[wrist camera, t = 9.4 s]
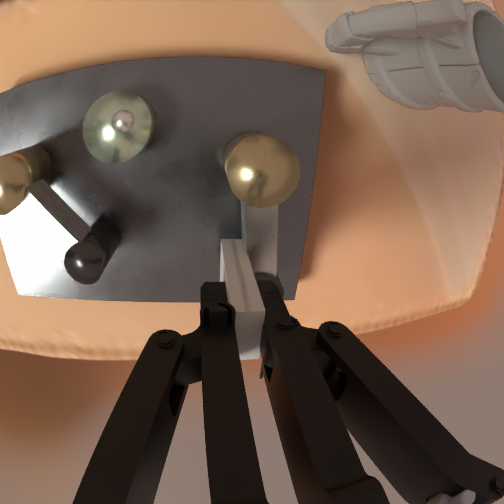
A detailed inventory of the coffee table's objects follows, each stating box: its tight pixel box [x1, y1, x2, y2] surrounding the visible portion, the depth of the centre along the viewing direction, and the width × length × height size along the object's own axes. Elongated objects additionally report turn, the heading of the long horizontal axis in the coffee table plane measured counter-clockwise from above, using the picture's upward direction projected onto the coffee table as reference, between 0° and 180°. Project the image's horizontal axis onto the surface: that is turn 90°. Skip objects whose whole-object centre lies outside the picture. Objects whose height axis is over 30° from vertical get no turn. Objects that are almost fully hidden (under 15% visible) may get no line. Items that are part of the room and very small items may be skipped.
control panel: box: [0, 57, 325, 302], centre depth 15 cm, size 23×16×4 cm
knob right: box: [223, 132, 300, 298], centre depth 15 cm, size 3×10×4 cm, turn 1°
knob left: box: [0, 146, 119, 285], centre depth 13 cm, size 3×10×4 cm, turn 40°
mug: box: [325, 0, 504, 112], centre depth 10 cm, size 8×12×12 cm, turn 94°
